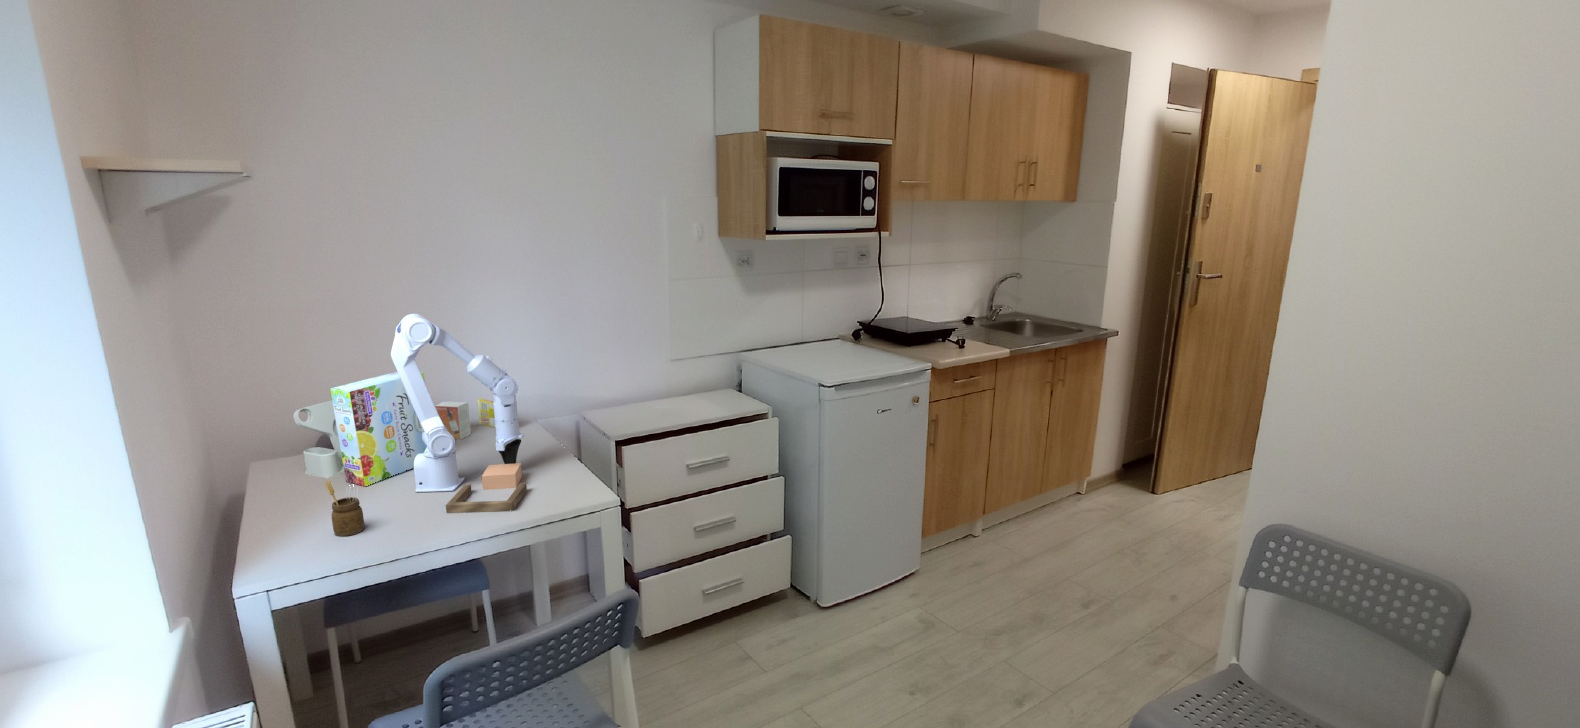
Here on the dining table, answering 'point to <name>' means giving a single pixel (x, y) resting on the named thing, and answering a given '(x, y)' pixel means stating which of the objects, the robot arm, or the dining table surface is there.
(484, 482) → the carton
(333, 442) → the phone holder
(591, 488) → the dining table surface
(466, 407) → the small box
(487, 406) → the candy box
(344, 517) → the utensil holder
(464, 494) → the brown u-shaped wooden frame
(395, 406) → the snack box
